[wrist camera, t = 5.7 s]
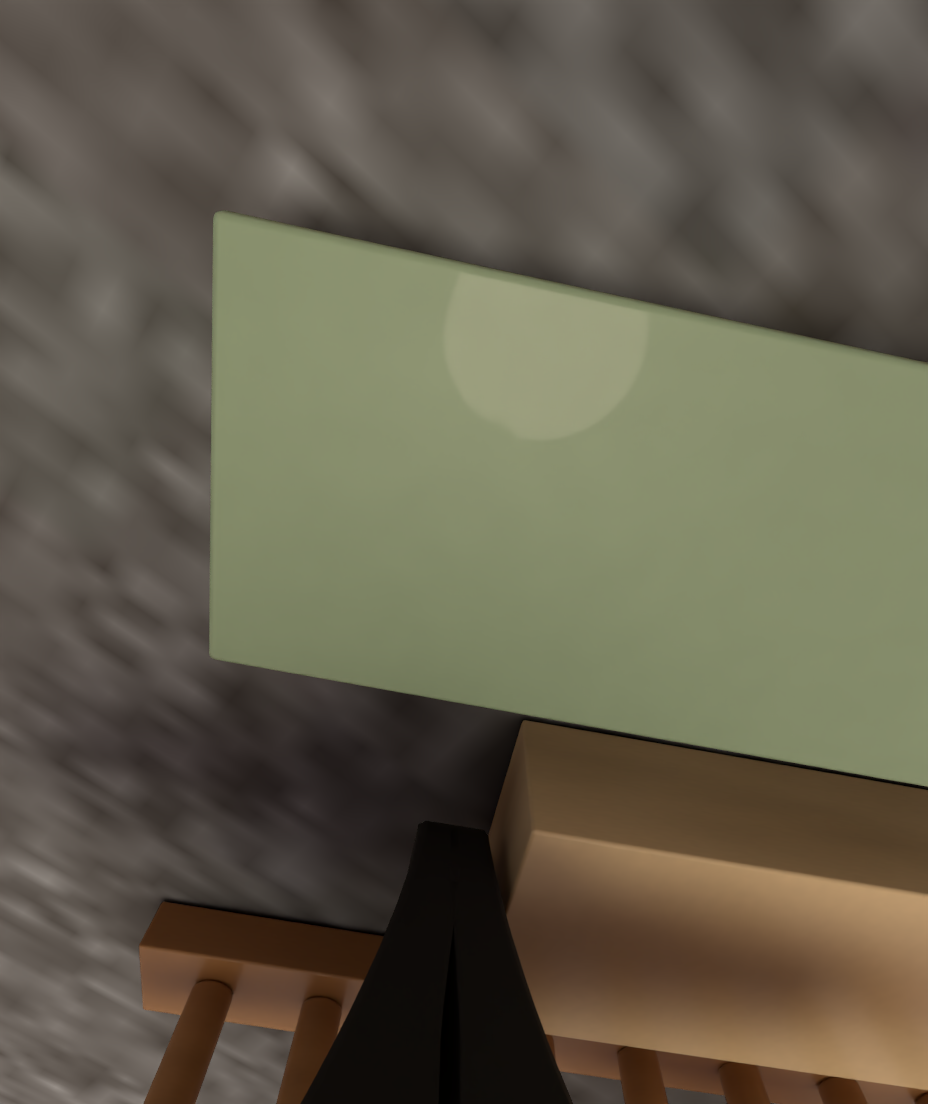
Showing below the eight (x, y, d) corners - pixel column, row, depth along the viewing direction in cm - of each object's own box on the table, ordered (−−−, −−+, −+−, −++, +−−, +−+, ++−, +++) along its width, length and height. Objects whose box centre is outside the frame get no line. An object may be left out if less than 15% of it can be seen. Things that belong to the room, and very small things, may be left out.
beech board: (1069, 989, 13) (1186, 1130, 11) (469, 895, 12) (466, 1024, 10) (1231, 841, 11) (1415, 976, 9) (521, 718, 10) (531, 832, 8)
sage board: (1067, 723, 10) (1229, 843, 8) (270, 574, 9) (205, 661, 7) (1292, 448, 8) (1596, 507, 6) (291, 231, 7) (208, 206, 5)
